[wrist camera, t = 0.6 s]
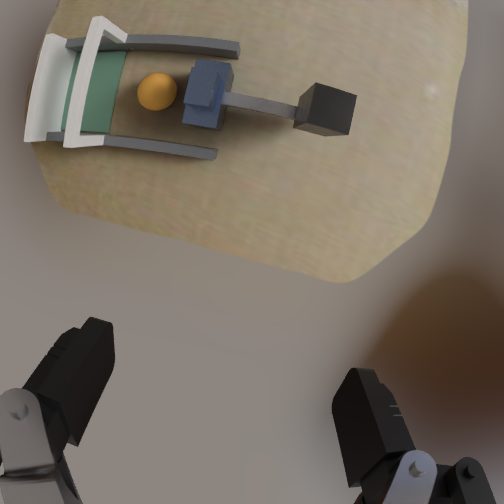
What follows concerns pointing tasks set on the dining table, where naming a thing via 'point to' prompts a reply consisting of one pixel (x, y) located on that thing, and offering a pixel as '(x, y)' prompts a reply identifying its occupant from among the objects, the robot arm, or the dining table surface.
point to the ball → (157, 91)
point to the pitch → (101, 86)
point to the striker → (263, 102)
